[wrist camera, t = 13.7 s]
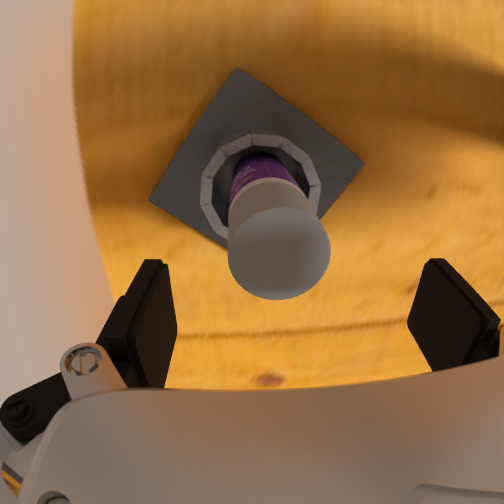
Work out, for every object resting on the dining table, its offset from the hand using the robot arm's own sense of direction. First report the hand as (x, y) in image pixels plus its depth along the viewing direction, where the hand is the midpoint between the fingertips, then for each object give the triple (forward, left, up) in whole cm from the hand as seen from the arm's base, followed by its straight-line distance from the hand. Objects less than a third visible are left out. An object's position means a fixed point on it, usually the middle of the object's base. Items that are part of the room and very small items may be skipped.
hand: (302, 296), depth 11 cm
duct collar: (0, 0, -19) cm, 19 cm away
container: (0, 0, -18) cm, 18 cm away
